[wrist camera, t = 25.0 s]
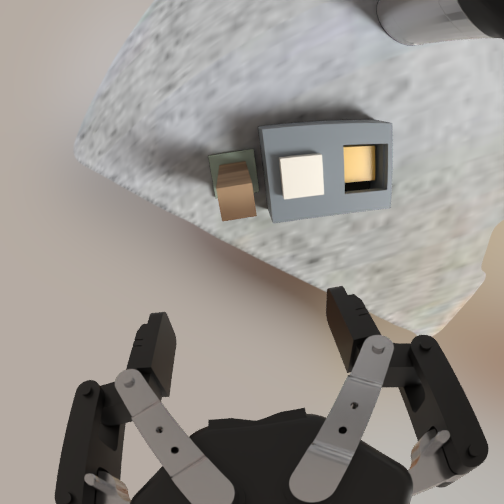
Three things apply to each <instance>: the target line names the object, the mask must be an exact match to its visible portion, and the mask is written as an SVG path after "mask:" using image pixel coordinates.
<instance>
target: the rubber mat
mask: <svg viewBox="0 0 504 504" xmlns="http://www.w3.org/2000/svg"><path fill="white" fill-rule="evenodd" d="M208 158H209V164H210V169H211V175H212V180H213V186H214V191H215V197H216V198H218V196H217V191H216V186H217V178H218V171H219V165H223V164H229V163H236V162H242V161H246V164H247V168H248V171H249V175H250V178H251V181H252V186H253V193H256V192H259V187H258V179H257V172H256V164H255V156H254V149H249V150H242V151H235V152H229V153H222V154H216V155H210V156H208Z"/></svg>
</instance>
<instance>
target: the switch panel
mask: <svg viewBox="0 0 504 504" xmlns="http://www.w3.org/2000/svg"><path fill="white" fill-rule="evenodd" d="M258 131H259V139H260V147H261V155H262V163H263V171H264V179H265V188H266V196H267V205H268V211H269V213H270V216H271V219H272V222H273V223H280V222H287V221H294V220H301V219H308V218H316V217H323V216H331V215H338V214H346V213H354V212H362V211H370V210H379V209H387V208H391V196H392V170H393V132H392V123H389V122H384V121H379V120H329V121H310V122H296V123H285V124H275V125H266V126H258ZM356 144H371V145H374V146H375V180H372V181H370V189H365V190H355V191H346V192H345V178H344V149H343V145H356ZM316 153H320V154H322V162H323V181H324V195H316V196H308V197H300V198H292V199H284V198H283V195H282V184H281V174H280V165H279V157H286V156H295V155H305V154H316Z"/></svg>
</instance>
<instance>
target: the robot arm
mask: <svg viewBox="0 0 504 504" xmlns="http://www.w3.org/2000/svg"><path fill="white" fill-rule="evenodd" d="M377 15H378V18H379V21H380V23H381V25H382V27H383V28H384V30H385V31H386V32H387V33H388V34H389V35H390V36H391V37H392V38H393V39H395V40H396V41H398V42H400V43H402V44H404V45H409V46H413V45H422V44H427V43H435V42H443V41H452V40H463V39H479V38H502V39H504V0H379V2H378V5H377ZM326 316H327V321H328V325H329V327H330V330H331V332H332V334H333V337H334V340H335V342H336V345H337V347H338V350H339V352H340V355H341V358H342V360H343V363H344V365H345V368H346V370H347V373H349V372H351V374H350V375H348V377H347V378H346V380H345V382H344V384H343V387H342V389H341V391H340V393H339V395H338V397H337V399H336V401H335V403H334V405H333V407H332V409H331V411H330V412H329V414H328V416H327V418H325V417H323V416H319V415H314V414H306V412H305V408H301V409H296V410H290V411H284V412H280V413H277V414H274V415H272V416H269V417H267V418H264V419H261V420H258V421H251V420H243V419H234V418H228V419H216V420H209V426H208V427H205V428H203V429H200V430H198V431H196V432H195V433H193V434H192V435H191V436H190V437H188V436H187V434H186V433H185V432H184V431H183V429H182V428H181V427H180V426H179V425H178V423H177V422H176V421H175V419H174V418H173V417H172V416H171V414H170V413H169V412H168V410H167V409H166V408H165V407H164V405H163V404H162V403H161V399H162V397H169V395H170V387H171V379H172V371H173V364H174V356H175V350H176V336H175V333H174V330H173V328H172V325H171V323H170V321H169V318H168V316H167V314H166V312H159V313H151V314H150V317H149V320H148V323H147V324H143V325H142V326H141V327H140V329H139V330H138V331H137V333H136V337H135V341H134V343H133V348H132V350H131V354H130V358H129V361H128V365H127V369H126V370H124V371H123V372H121V373H120V374H119V375H118V376H117V377H116V379H115V382H112V383H109V384H106V385H102V386H100V385H99V384H98V383H97V382H96V381H93V380H89V381H85V382H83V383H82V384H80V385H79V387H78V388H77V390H76V393H75V397H74V401H73V404H72V408H71V412H70V416H69V420H68V424H67V429H66V433H65V438H64V443H63V447H62V452H61V458H60V464H59V469H58V475H57V482H56V490H55V501H56V504H410V501H411V498H412V496H413V495H416V494H419V493H421V492H424V491H426V490H429V489H431V488H433V487H435V486H436V487H446V486H448V485H450V484H451V483H453V482H455V481H456V480H458V479H459V478H461V477H463V476H464V475H466V474H467V473H469V472H470V471H472V470H473V469H475V468H476V467H477V466H479V465H480V464H481V463H483V461H484V460H485V459H486V457H487V454H488V444H487V441H486V439H485V436H484V434H483V432H482V429H481V427H480V425H479V422H478V420H477V418H476V416H475V413H474V411H473V409H472V407H471V405H470V403H469V401H468V399H467V397H466V395H465V393H464V391H463V389H462V387H461V385H460V383H459V381H458V379H457V377H456V375H455V373H454V371H453V369H452V368H451V366H450V364H449V362H448V360H447V358H446V357H445V355H444V353H443V351H442V350H441V348H440V346H439V344H438V343H437V341H436V340H435V339H434V338H432V337H431V336H428V335H419V336H416V337H415V338H414V339H413V340H412V342H411V344H397V343H392V341H391V340H390V339H389V338H387V337H385V336H382V335H381V334H380V332H379V330H378V328H377V327H376V325H375V323H374V321H373V319H372V318H371V316H370V314H369V312H368V310H367V309H366V308H365V305H364V303H363V302H362V300H361V299H360V298H358V297H357V296H356V295H354V294H352V295H347V293H346V291H345V289H344V287H343V286H339V287H334V288H328V289H327V304H326ZM382 387H398V388H399V390H400V393H401V395H402V398H403V400H404V403H405V406H406V408H407V411H408V414H409V416H410V419H411V422H412V425H413V428H414V430H415V434H416V437H417V439H418V442H417V444H416V445H415V446H414V447H413V449H412V452H411V460H412V462H411V467H410V469H409V470H407V469H406V468H405V467H404V466H403V465H401V464H400V463H398V462H396V461H394V460H393V459H391V458H389V457H388V456H386V455H384V454H382V453H381V452H379V451H378V450H376V449H375V448H373V447H371V446H369V445H368V444H367V443H365V442H363V441H362V440H361V437H362V435H363V433H364V431H365V429H366V426H367V424H368V422H369V419H370V417H371V414H372V411H373V409H374V407H375V404H376V401H377V399H378V396H379V393H380V390H381V388H382ZM131 421H133V422H134V424H135V425H136V427H137V429H138V430H139V432H140V433H141V435H142V437H143V438H144V439H145V441H146V443H147V444H148V446H149V447H150V448H151V450H152V451H153V453H154V454H155V456H156V457H157V459H158V460H159V461H160V463H161V464H162V465H163V466H162V467H161V468H160V469H159V471H157V473H156V474H155V475H154V476H153V477H152V478H151V479H150V480H149V481H148V482H147V483H146V484H145V485H144V486H143V488H141V489H140V490H139V491H138V493H136V495H135V496H134V497H133V498H132V500H130V498H129V495H128V489H127V487H126V485H125V484H124V483H123V482H122V481H120V474H121V461H122V450H123V440H124V431H125V423H127V422H131Z"/></svg>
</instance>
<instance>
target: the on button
mask: <svg viewBox="0 0 504 504" xmlns="http://www.w3.org/2000/svg"><path fill="white" fill-rule="evenodd" d="M279 165H280V174H281V184H282V195H283V198H284V199H292V198H300V197H308V196H316V195H324V181H323V162H322V154H320V153H316V154H305V155H295V156H286V157H279Z"/></svg>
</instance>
